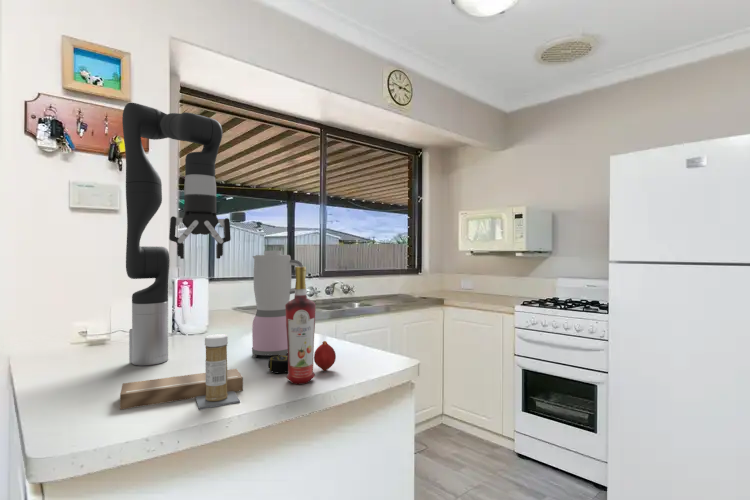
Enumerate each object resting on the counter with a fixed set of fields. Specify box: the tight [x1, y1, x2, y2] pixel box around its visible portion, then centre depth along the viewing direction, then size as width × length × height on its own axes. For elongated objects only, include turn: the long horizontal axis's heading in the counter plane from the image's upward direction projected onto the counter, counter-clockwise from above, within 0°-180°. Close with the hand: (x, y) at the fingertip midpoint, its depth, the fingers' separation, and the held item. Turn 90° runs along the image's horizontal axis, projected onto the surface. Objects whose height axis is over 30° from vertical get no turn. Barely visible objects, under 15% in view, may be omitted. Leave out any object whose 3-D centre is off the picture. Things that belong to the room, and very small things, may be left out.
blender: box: [251, 250, 304, 359], centre depth 129 cm, size 16×12×32 cm
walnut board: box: [119, 368, 244, 410], centre depth 93 cm, size 24×8×3 cm, turn 118°
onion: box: [313, 340, 337, 372], centre depth 111 cm, size 6×6×8 cm
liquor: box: [285, 266, 317, 385], centre depth 102 cm, size 7×7×28 cm
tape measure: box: [267, 355, 288, 374], centre depth 111 cm, size 7×7×4 cm
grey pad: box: [195, 391, 241, 410], centre depth 89 cm, size 8×7×1 cm
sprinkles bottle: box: [204, 333, 229, 401], centre depth 89 cm, size 5×5×14 cm
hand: (200, 258), depth 106 cm, fingers open, 8 cm apart
